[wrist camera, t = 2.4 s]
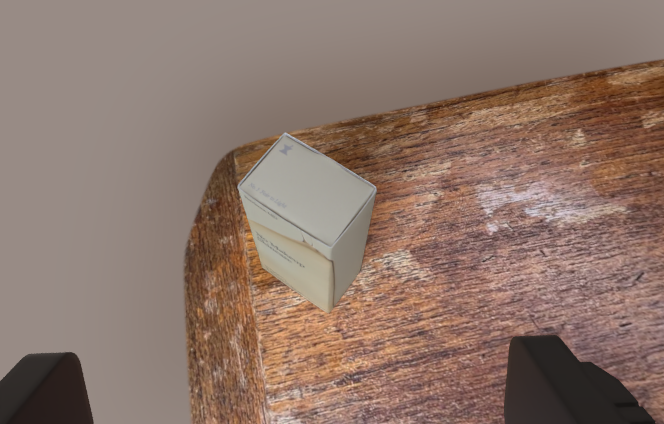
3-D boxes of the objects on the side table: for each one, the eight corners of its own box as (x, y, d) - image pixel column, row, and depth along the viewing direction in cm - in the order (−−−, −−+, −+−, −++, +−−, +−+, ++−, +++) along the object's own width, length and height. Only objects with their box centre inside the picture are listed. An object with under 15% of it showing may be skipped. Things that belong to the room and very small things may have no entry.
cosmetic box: (260, 268, 36) (229, 186, 26) (297, 223, 38) (282, 128, 27) (331, 317, 35) (329, 252, 24) (366, 267, 36) (379, 185, 26)
